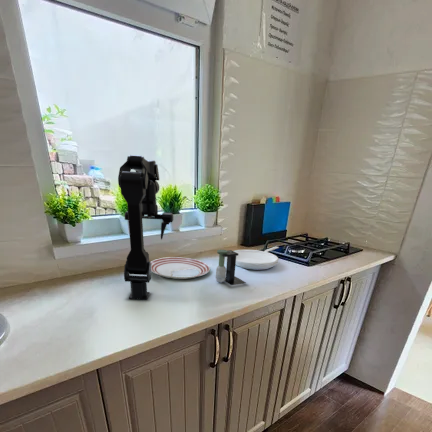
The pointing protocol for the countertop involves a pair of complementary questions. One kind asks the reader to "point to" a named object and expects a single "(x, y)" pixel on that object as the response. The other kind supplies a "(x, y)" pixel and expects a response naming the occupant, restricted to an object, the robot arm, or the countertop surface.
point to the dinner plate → (178, 266)
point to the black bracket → (231, 268)
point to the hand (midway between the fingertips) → (150, 238)
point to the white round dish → (256, 259)
